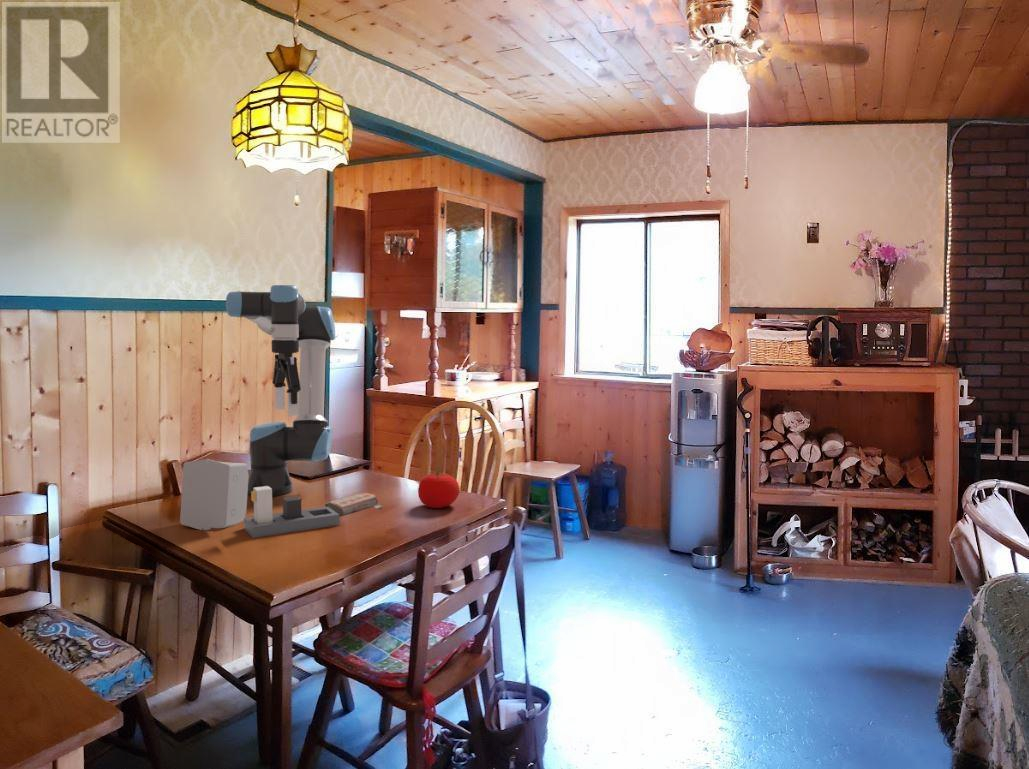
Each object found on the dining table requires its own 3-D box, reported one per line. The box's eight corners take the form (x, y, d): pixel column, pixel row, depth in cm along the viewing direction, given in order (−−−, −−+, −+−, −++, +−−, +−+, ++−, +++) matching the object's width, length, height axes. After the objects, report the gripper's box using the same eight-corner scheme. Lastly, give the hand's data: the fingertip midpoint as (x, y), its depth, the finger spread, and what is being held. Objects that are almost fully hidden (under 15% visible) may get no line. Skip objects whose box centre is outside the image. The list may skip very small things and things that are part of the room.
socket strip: (243, 531, 211) (243, 517, 211) (328, 519, 225) (328, 506, 224) (252, 541, 203) (252, 527, 202) (340, 528, 216) (340, 514, 215)
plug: (251, 530, 209) (250, 487, 208) (269, 527, 212) (268, 485, 211) (255, 534, 206) (253, 491, 205) (272, 531, 209) (271, 488, 207)
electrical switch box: (255, 525, 225) (259, 458, 226) (225, 532, 211) (229, 460, 211) (211, 521, 228) (215, 455, 229) (179, 528, 214) (183, 457, 215)
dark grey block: (283, 525, 214) (282, 498, 213) (297, 523, 216) (296, 496, 215) (287, 529, 211) (286, 501, 210) (301, 527, 213) (301, 499, 212)
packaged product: (360, 489, 243) (382, 494, 238) (360, 504, 244) (382, 509, 238) (316, 501, 228) (340, 506, 223) (317, 516, 229) (340, 522, 223)
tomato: (423, 500, 247) (423, 467, 246) (462, 503, 245) (462, 469, 244) (413, 510, 236) (413, 475, 234) (454, 512, 234) (454, 477, 233)
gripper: (260, 337, 226) (262, 407, 228) (283, 341, 205) (285, 418, 207) (286, 336, 230) (287, 405, 232) (311, 341, 209) (312, 417, 211)
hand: (286, 412), depth 219 cm, fingers open, 13 cm apart
